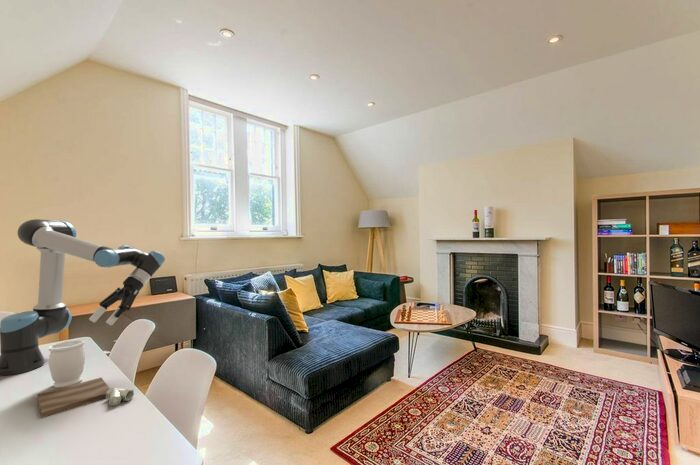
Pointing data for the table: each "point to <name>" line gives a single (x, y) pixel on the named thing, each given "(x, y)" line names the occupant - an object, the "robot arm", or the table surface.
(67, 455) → the table surface
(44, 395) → the walnut board
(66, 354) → the jar
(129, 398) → the pipe fitting
